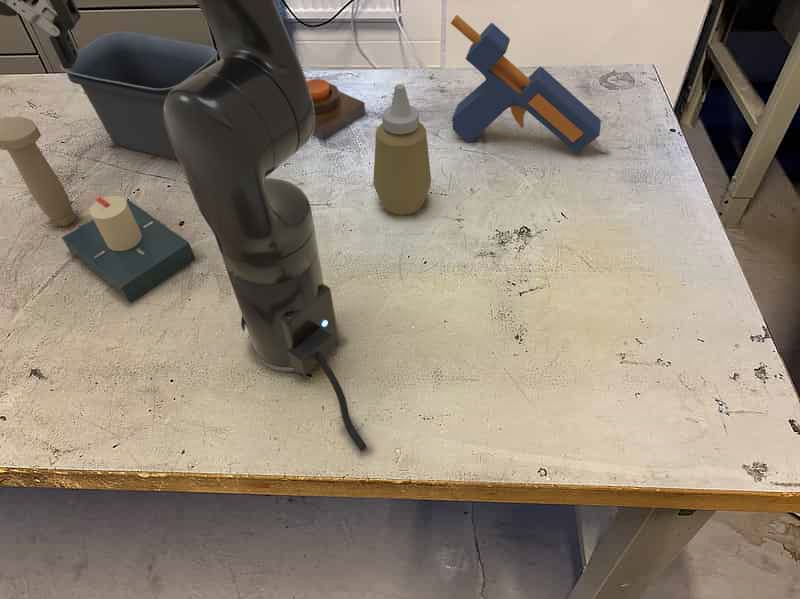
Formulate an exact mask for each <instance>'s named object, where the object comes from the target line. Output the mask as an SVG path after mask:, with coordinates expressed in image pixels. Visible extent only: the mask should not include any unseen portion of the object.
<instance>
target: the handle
mask: <svg viewBox="0 0 800 599" xmlns="http://www.w3.org/2000/svg"><path fill="white" fill-rule="evenodd" d="M41 134H42V133H41V131H40V130H39V128H38V126H37V124H36V123H35V122H34V121H33V120H32V119H30V118H26V117H25V116H24V117H23V116H4V117H1V118H0V150H2V151H3V150H4V151H6V152H8V154H9V155H10V157H11V159H12V161H13V163H14V165H15V166H16V168H17V170H18V172H19V175H20V176H21V178H22V180H23V182H24V183H25V185H26V188H27V189H28V191H29V193H30V195H31V196H32V198H33V199H34V201H35V203H36V204H37V205H38V207H39V208H40V210H41V211H42V212H43V214H45V216H46V217H47V218H48V219H49V221H50V222H51V223H52V225H53V226H54V227H58V228H59V227H68V226H70V225H71V224H72V223H73V222H75V221H76V220H77V219H76V214H75V211H74V209H73V205H72V202H71V200H70V198H69V196H68V194H67V192H66V190H65V188H64V186H63V184H62V183H61V181H60V179H59V178H58V176H57V174H56V173H55V170H53V168H52V167H51V165H50V164H49V162H48V160H47V159H46V158H45V156H44V154H43V153H42V151H41V149H40V148H39V146H38V144H37V142H38V140H39V139H40V138H41V136H42V135H41Z"/></svg>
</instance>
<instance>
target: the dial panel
mask: <svg viewBox="0 0 800 599" xmlns="http://www.w3.org/2000/svg"><path fill="white" fill-rule="evenodd" d="M125 200H126V201H127V203H128V206H129V208H130V210H131V212H132V214H133V216H134V218H135V220H136V223H137V225H138V227H139V229H140V231H141V233H142V239H141V241H140V242H139V243H138V244H137V245H136V246H135V247H133V248H131V249H129V250H125V251H113V250H111V249H110V248H108V246H107V244H106V242H105V241H104V239H103V237H102V235H101V233H100V231H99V229H98V227H97V226H96V224H95V222H94V220H93V219H91V220H90V221H88V222H86V223H84V224H82V225H81V226H79V227H78V228H75V229H74V230H72V231H70V232H69V233H67V234H65V235H64V236H62V237H61V239H62V241H63V242H64V244H65V246H66V247H67V249H68V250H69V252H70V254H71V255H72V256H73V257H75V258H76V259H77V260H78V261H79V262H81V263H82V264H83V265H84V266H86V268H88V269H89V270H90V271H91V272H93V273H94V274H95V275H96V276H97V277H99V278H100V279H101V280H102V281H103V282H104V283H105V284H107V285H108V286H109V287H111V288H112V289H113V290H114V291H115V293H117V294H119V295H120V296H121V297H122V298H123V299H124V300H126V301H127V302H128V303H130V304H131V303H133V302H134V301H136V300H138V298H140V297H141V296H143V295H145V294H146V293H147V292H149V291H150V290H152V289H154V288H155V287H156V286H158V285H159V284H161V283H162V282H164V281H166V280H167V279H168V278H170V277H171V276H172V275H174V274H175V273H177V272H178V271H180V270H181V269H183V268H184V267H186V266H187V265H189V264H191V263H192V262H193V261H195V260H196V256H195V254H194V252H193V251H194V250H193V249H192V247H191V244H190V242H189V241H187V240H186V239H185V238H183V237H182V236H181V235H179V234H177V233H176V232H175V231H174V230H172V229H171V228H169V227H168V226H166V225H165V224H164V223H162V222H161V221H159V220H158V219H156V217H153V215H151V214H150V213H148V212H147V211H145V209H142V208H141V207H139V205H136V204H135V203H134V202H132V201H131V200H130V199H125Z"/></svg>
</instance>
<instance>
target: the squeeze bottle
mask: <svg viewBox="0 0 800 599" xmlns="http://www.w3.org/2000/svg"><path fill="white" fill-rule="evenodd" d="M381 119H382V120H381V121H382V123H381V124H379V125H378V127H377V128H376V130H375V131H376V132H375V143H374V144H375V145H374V161H373V162H374V163H373V179H372V180H373V182H372V184H373V187H374V189H375V192H376V194H377V196H378V198H379V200H380V202H381V204H382V207H383V208H384V209H385V210H386V211H387V212H388V213H391V214H394V215H401V216H406V215H410V214H411V215H412V214H414V213H415V212H418V211H419V210H421V208H422V206H423V205H424V203H425V201H426V198H427V195H428V193H429V191H430V189H431V185H432V184H431V183H432V175H431V165H430V156H429V146H428V135H427V129H426V127H425V126H424V124H423V123H421V122H420V112H419V110H418V109H417V108H416V107H415V106H413V105H410V101H409V98H408V93H407V89H406V85H404V84H403V83H397V84H395V86H394V90H393V95H392V101H391V105H390V106H387V107H386V108H385V109H384V110H383V111H382V114H381Z"/></svg>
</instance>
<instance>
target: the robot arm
mask: <svg viewBox="0 0 800 599" xmlns="http://www.w3.org/2000/svg"><path fill="white" fill-rule="evenodd" d="M195 1H196V4H197V6H198V7H199V9H200V11H201V13H202V14H203V16H204V19H205V21H206V23H207V25H208V27H209V29H210V32H211V34H212V37H213V39H214V41H215V45H216V48H217V52H218V55H219V60H218V61H217V62H216V63H214V64H213V65H211V66H209V67H208V68H206V69H204V70H203V71H201V72H199V73H197V74H196V75H194V76H192V77H191V78H189V79H187V80H186V81H184V82H182V83H181V84H179V85H178V86H176V87H175V88H173V89H172V90H171V91H170V92H169V93H168V95H167V96H166V98H165V101H164V108H163V112H164V122H165V127H166V130H167V133H168V137H169V140H170V142H171V145H172V147H173V150H174V152H175V154H176V157H177V159H178V160H177V162H178V164H179V166H180V167H181V170H182V172H183V174H184V176H185V179H186V182H187V184H188V186H189V188H190V191H191V194H192V196H193V198H194V202H195V203H196V206H197V208H198V210H199V212H200V214H201V216H202V217H203V218H204V221H205V222H206V224H207V225H208V226H209V228H210V230H211V232H212V233H213V234H214V237H215V239H216V243H217V246H218V249H219V251H220V255H221V257H222V260H223V264H224V266H225V270H226V272H227V275H228V277H229V281H230V284H231V287H232V290H233V292H234V296H235V298H236V301H237V304H238V307H239V310H240V313H241V320H240V325H241V328H242V331H243V332H245V328H246V331H247V333H248V335H249V339H250V341H251V347H252V350H253V353H254V355H255V357H256V358H257V360H258V361H259V362H260V363H261V364H263V366H265V367H267V368H269V369H271V370H274V371H278V372H285V373H286V372H287V373H289V372H294V373H296V374H298V375H299V376H307V375H308V374H309V372H311V371H312V370H313V369H315V367H316V366H318V365H319V366H320V367H321V369H322V370H323V372H324V374H325V375H326V378H327V379H328V381H329V383H330V384H331V386H332V388H333V390H334V393H335V395H336V397H337V400H338V404H339V409H340V413H341V418H342V422H343V424H344V427H345V429H346V431H347V433H348V434H349V436H350V437H351V439H352V440H353V442H354V443H355V445H356V446H357V447H358V449H359V451H364V450H366V449H367V448H368V446H367V444H366V443H365V441H364V440H363V439H362V437H361V436H360V434H359V433H358V432H357V430H356V428H355V426H354V423H353V422H352V419H351V416H350V413H349V408H348V402H347V399H346V396H345V393H344V390H343V389H342V386H341V384H340V383H339V380H338V377H336V374H335V373H334V371H333V370H332V368H331V367H330V365H329V363H328V361H327V360H326V358H327V357H328V356H329V355H330V354H331V353H332V352H333V351H334V350H335V347H336V346H338V345H339V344H340V339H339V332H338V326H337V319H336V313H335V308H334V307H335V306H334V302H333V294H332V289H331V287H329V286H328V285H326V284H325V281H324V275H323V269H322V263H321V258H320V252H319V246H318V240H317V236H316V235H317V234H316V227H315V223H314V217H313V211H312V206H311V203H310V200H309V198H308V196H307V195H306V193H305V192H304V191H303V190H302V189H301V188H300V187H299V186H297V185H295V184H293V183H291V182H289V181H287V180H284V179H280V178H279V179H278V178H271V177H268V176H269V175H270V174H271V173H273V172H274V171H275V170H277V169H278V168H279V167H280V166H282V165H283V164H284V163H285V162H286V161H288V160H289V159H290V158H292V157H293V156H295V154H297V153H298V152H299V151H300V150H302V149H303V148H304V147H305V146H306V145H307V143H308V142H309V141H310V139H311V138H312V136H313V135H312V134H313V130H314V125H315V112H314V106H313V101H312V97H311V93H310V90H309V87H308V84H307V81H308V80H307V78H306V75H305V73H304V70H303V67H302V65H301V62H300V60H299V58H298V55H297V54H296V53H297V52H296V51H295V48H294V46H293V43H292V41H291V38H290V36H289V33H288V31H287V28H286V25H285V24H284V22H283V19H282V16H281V13H280V11H279V9H278V7H277V4H276V2H275V0H195ZM49 2H50V3H51V6H52V7H53V8H52V7H51V6H50V5H49V3H48V1H47V0H0V16H4V17H16V16H17V15H18V14H19V15H20V16H21V17H22V18H24V19H25V20H26V21H28V22H30V23H34V24H36V25H38V26H39V27H40V28H41V29H43V31H45V32H46V33H48V34H49V35H50V36H49V40H50V42H51V45H52V47H53V50H54V51H55V53H56V56H57V58H58V60H59V62H60V64H62V66H63V68H64V69H69V68H72V67H73V65H74V64H75V60H76V59H77V51H78V50H77V49H76V47H75V44H74V42H73V40H72V38H71V35H70V33H69V31H72V30H74V29H75V27H76V25H77V23H78V22H79V21H80V19H81V13H80V11H79V9H78V7H77V5H76V3H75V1H74V0H49ZM27 3H29V4H30V5H31V6H30V5H29V4H27Z"/></svg>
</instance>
